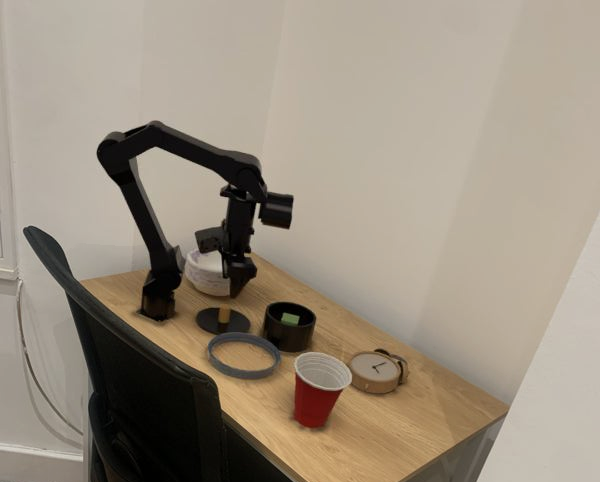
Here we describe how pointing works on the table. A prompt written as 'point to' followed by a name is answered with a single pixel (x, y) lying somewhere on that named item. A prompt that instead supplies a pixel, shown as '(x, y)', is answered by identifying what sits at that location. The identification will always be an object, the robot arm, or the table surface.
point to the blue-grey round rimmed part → (245, 339)
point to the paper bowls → (206, 272)
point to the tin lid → (222, 320)
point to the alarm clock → (377, 370)
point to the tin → (288, 327)
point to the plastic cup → (318, 387)
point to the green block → (290, 319)
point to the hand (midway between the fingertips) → (228, 288)
